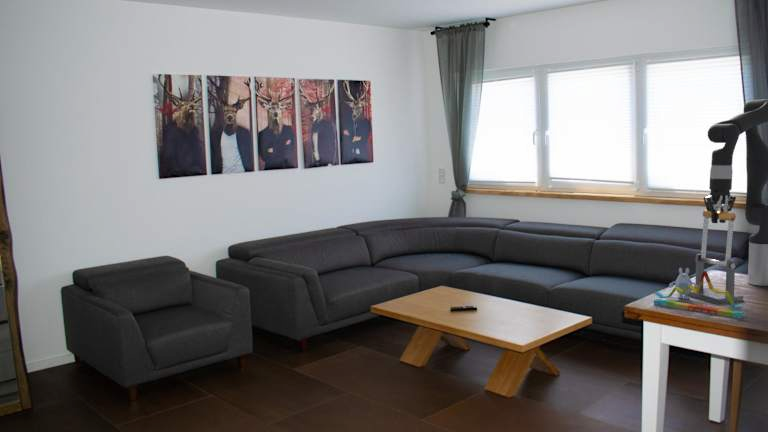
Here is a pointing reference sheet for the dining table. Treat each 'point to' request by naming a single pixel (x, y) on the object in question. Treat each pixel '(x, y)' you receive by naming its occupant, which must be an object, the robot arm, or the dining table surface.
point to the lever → (730, 218)
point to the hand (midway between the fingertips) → (718, 222)
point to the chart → (697, 307)
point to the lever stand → (713, 296)
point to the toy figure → (683, 283)
